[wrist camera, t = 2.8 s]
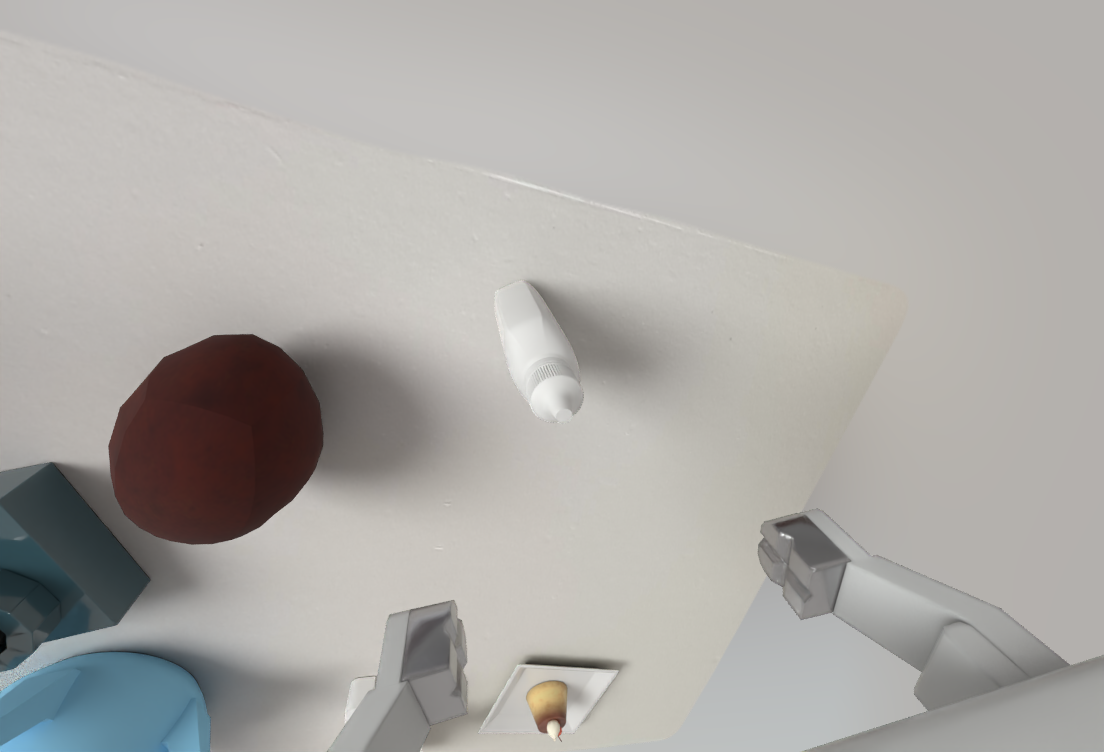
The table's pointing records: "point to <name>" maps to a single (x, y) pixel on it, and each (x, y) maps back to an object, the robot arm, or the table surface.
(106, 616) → the push button box
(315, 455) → the potato
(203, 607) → the table surface
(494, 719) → the dessert
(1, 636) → the dark grey push button
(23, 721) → the teakettle
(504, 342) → the eye dropper bottle
